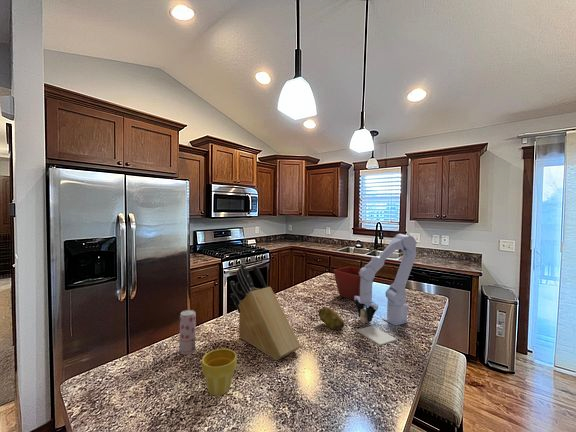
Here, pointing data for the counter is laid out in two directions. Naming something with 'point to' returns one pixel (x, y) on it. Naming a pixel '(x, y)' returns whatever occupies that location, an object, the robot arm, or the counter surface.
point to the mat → (376, 335)
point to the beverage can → (187, 331)
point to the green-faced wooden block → (363, 316)
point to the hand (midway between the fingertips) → (365, 318)
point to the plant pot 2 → (348, 281)
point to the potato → (331, 318)
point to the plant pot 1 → (219, 370)
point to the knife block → (262, 317)
